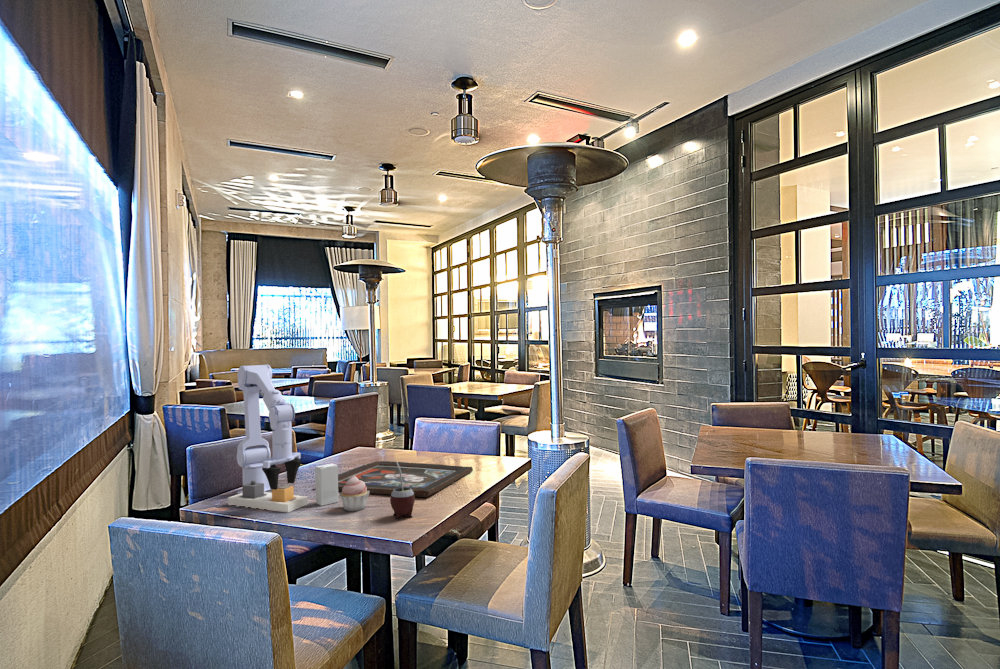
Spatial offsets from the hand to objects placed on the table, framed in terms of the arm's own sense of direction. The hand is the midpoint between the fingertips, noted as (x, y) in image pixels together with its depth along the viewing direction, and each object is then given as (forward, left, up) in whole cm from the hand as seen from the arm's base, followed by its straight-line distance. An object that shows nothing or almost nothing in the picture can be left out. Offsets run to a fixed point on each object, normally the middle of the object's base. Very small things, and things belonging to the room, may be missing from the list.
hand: (282, 486), depth 180 cm
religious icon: (-40, +18, -7) cm, 45 cm away
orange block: (0, 0, -7) cm, 7 cm away
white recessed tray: (0, -6, -6) cm, 9 cm away
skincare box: (-7, +11, -7) cm, 15 cm away
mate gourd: (-3, +41, -7) cm, 42 cm away
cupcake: (-5, +23, -7) cm, 25 cm away
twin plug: (0, -12, -6) cm, 14 cm away
